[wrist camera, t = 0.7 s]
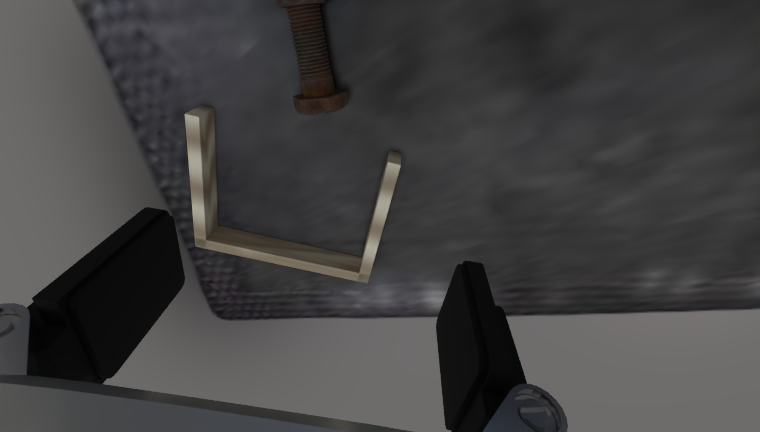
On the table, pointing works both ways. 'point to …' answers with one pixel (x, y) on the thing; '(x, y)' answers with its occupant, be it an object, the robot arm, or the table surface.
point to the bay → (264, 247)
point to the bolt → (312, 59)
